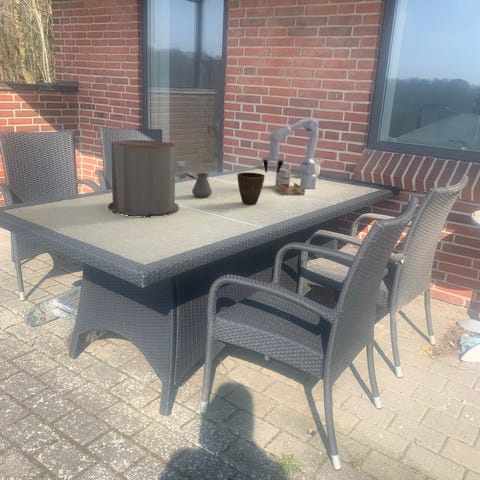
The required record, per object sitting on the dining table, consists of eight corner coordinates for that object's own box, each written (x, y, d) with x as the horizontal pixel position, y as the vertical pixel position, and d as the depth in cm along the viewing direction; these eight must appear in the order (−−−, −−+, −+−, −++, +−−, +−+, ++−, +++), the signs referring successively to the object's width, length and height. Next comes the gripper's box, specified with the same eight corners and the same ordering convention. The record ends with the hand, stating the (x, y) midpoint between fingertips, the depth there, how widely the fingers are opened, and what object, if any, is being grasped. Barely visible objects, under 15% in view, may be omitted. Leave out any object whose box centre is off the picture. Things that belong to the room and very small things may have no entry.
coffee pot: (200, 193, 295) (201, 168, 290) (215, 196, 289) (217, 170, 284) (175, 198, 278) (176, 171, 274) (191, 202, 272) (192, 174, 267)
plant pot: (257, 208, 268) (259, 178, 263) (231, 204, 272) (233, 175, 268) (266, 202, 281) (268, 174, 276) (241, 199, 286) (242, 171, 281)
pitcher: (301, 175, 376) (303, 156, 371) (324, 178, 368) (326, 159, 364) (296, 177, 366) (298, 158, 362) (319, 180, 359) (321, 161, 355)
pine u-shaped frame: (294, 189, 323) (295, 183, 321) (304, 194, 307) (304, 188, 306) (276, 189, 319) (276, 183, 318) (285, 194, 304) (285, 188, 303)
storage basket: (149, 221, 231) (149, 151, 221) (93, 209, 247) (90, 142, 237) (192, 207, 260) (194, 145, 251) (139, 197, 276) (139, 138, 266)
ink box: (289, 188, 326) (290, 169, 322) (283, 188, 322) (285, 170, 319) (280, 185, 332) (281, 167, 328) (274, 186, 329) (276, 168, 325)
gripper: (263, 151, 308) (261, 173, 312) (286, 152, 310) (284, 174, 314) (261, 149, 314) (259, 171, 318) (284, 151, 317) (281, 172, 321)
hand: (271, 172), depth 317 cm, fingers open, 7 cm apart
